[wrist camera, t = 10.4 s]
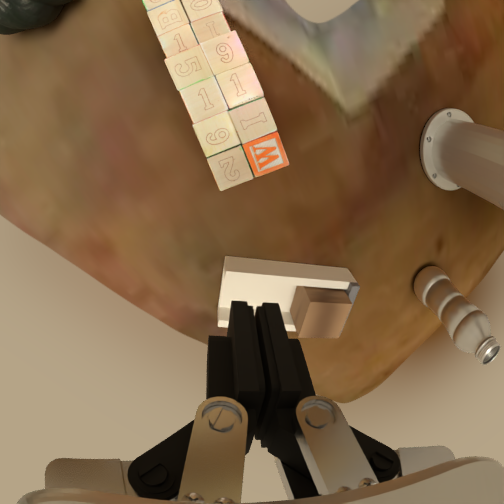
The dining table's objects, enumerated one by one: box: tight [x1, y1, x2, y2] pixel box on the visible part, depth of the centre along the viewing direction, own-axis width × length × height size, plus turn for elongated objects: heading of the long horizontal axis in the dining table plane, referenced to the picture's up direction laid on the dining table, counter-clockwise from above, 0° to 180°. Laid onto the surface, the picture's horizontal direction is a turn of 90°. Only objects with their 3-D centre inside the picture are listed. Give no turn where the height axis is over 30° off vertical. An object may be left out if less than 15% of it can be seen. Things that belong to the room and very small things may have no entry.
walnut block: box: [290, 286, 352, 338], centre depth 42 cm, size 6×6×6 cm
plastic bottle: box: [414, 266, 501, 365], centre depth 39 cm, size 6×7×20 cm
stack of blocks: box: [142, 0, 289, 191], centre depth 26 cm, size 21×6×12 cm, turn 20°
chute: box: [218, 256, 360, 336], centre depth 43 cm, size 18×9×5 cm, turn 80°
